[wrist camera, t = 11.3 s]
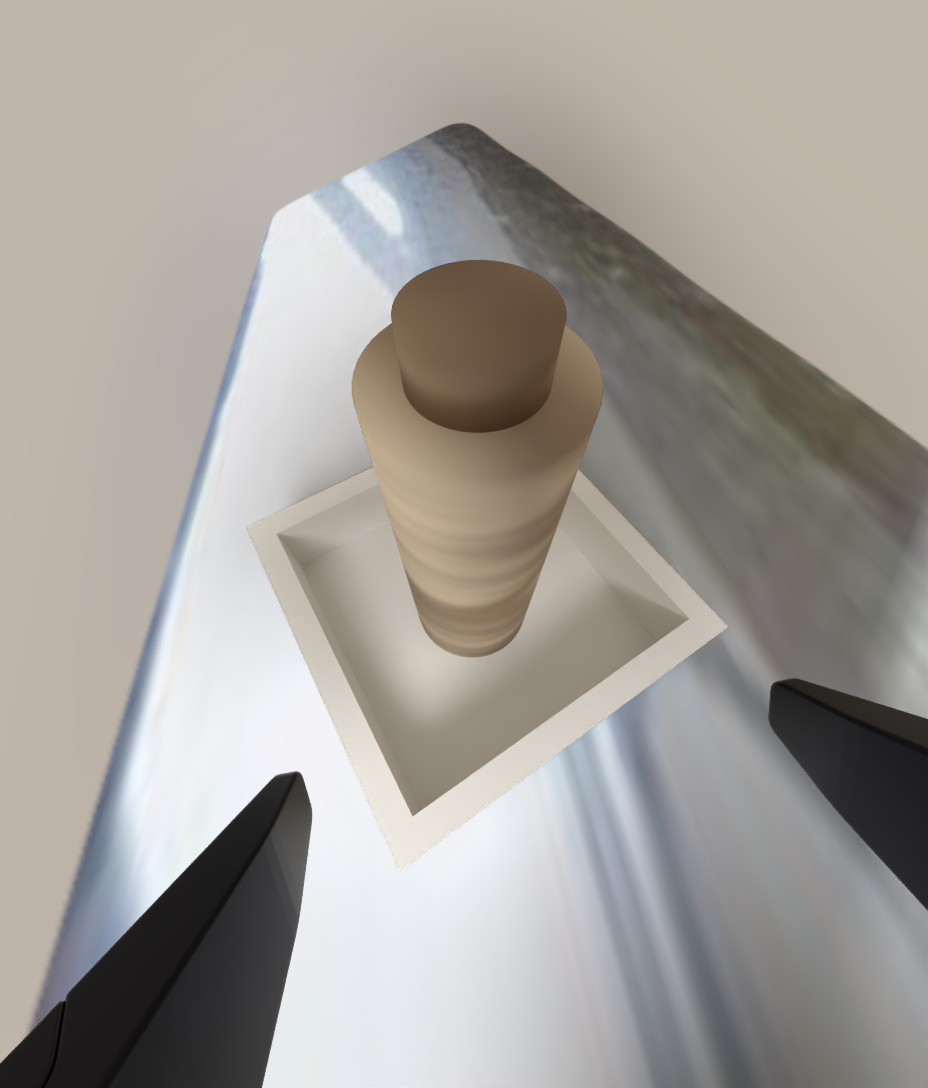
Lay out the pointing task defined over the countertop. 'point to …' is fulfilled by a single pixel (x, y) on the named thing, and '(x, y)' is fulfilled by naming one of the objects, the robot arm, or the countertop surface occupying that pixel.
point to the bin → (460, 682)
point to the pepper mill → (476, 440)
